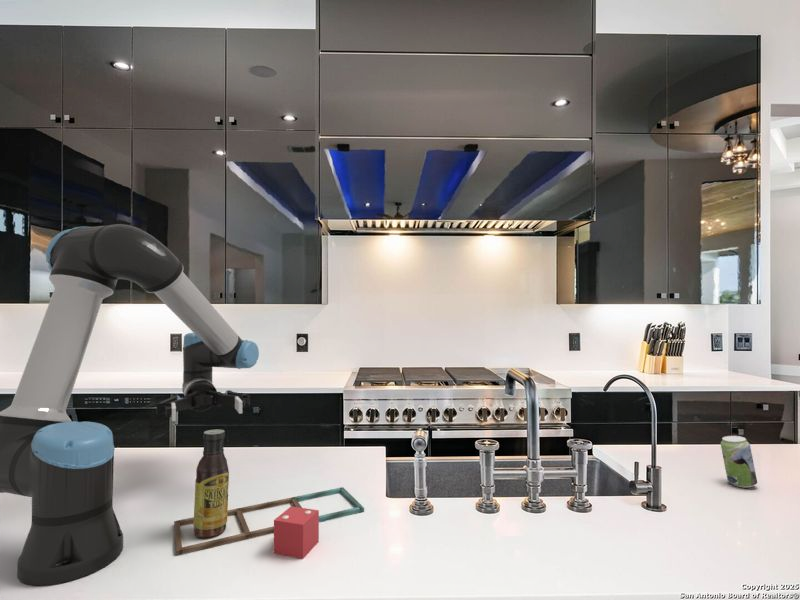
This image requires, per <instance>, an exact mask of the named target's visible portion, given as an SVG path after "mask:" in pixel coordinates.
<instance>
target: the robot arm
mask: <svg viewBox="0 0 800 600" xmlns="http://www.w3.org/2000/svg"><path fill="white" fill-rule="evenodd" d="M45 260H46V263H48V268H49V270H50V274H49V276H48V279H49V281H50V283H51V284H52V286H53V287H54V289H53V291H52V295H51V298H50V300H49V302H48V305H47V308H46V311H45V312H44V317H43V319H42V322H41V324H40V327H39V330H38V332H37V335H36V337H35V340H34V342H33V345H32V349H31V351H30V354H29V356H28V359H27V362H26V365H25V367H24V371H23V372H22V375H21V378H20V381H19V383H18V385H17V389H16V392H15V394H14V397H13V399H12V402H11V405H9V406H8V407H7V408H5V409H3V410H1V411H0V493H2V494H3V493H6V494H13V495H17V496H23V497H28V498H31V525H30V528H29V531H28V534H27V537H26V538H25V542H24V545H23V548H22V551H21V554H20V556H19V557H18V560H17V567H16V568H17V570H16V571H17V572H16V576H17V579H18V580H19V582H21V583H23V584H26V585H31V586H50V585H55V584H61V583H66V582H69V581H73V580H77V579H79V578H82V577H85V576H88V575H90V574H93V573H95V572H97V571H99V570H101V569H102V568H105V567H106V566H108V565H110V564H111V563H112V562H114V561H115V560H116V559H117V558H119V557H120V555H121V553H122V552H123V549H124V533H123V531H122V528H121V526H120V522H119V520H118V518H117V515H116V513H115V511H114V510H115V509H114V508H113V504H114V503H113V496H114V495H113V494H114V492H113V491H114V490H113V489H114V465H115V464H114V463H115V460H114V459H115V445H114V435H113V431H112V430H111V429H110V428H109V427H108V426H106V425H104V424H103V423H98V422H95V421H93V422H92V421H72V419H71V418H70V417H69V415H68V414H67V408H68V406H69V405H68V404H69V402H70V399H71V397H72V396H71V395H72V394H73V390H74V387H75V384H76V381H77V378H78V374H79V372H80V370H81V369H80V368H81V366H82V363H83V359H84V356H85V353H86V351H87V350H86V349H87V347H88V345H89V342H90V339H91V335H92V332H93V329H94V326H95V323H96V319H97V317H98V315H99V311H100V309H101V304H102V302H103V301H104V299H106V298H108V297H110V296H112V295H113V294H114V292H115V289H116V286H117V282H118V280H125V281H130V282H133V283H134V284H137V285H138V286H140V288H142V290H144V291H145V292H146V293H149V294H154V295H155V296H157V298H158V299H159V300H160V301H161V302H162V303H163V304H164V305H165V306H166V307H167V308H169V310H170V311H172V313H173V314H174V315H175V316H176V317H178V319H179V320H181V322H182V323H184V325H185V326H186V327H188V329H189V330H190V331H191V332H189V333H185V334H184V336H183V344H182V353H183V354H182V355H183V357H182V359H183V361H182V362H183V363H182V365H183V372H182V374H183V375H182V381H183V382H182V393H183V395H184V397H180V395H177V394H174V395H171V397H169V398H167V399H164V400H162V401H160V402H157V403H156V415H157V416H160V415H163V414H165V418H166V419H168V418H169V419H170V418H171V422H177V413H178V412H181V411H184V410H192V411H196V412H205V411H207V410H209V409H211V408H212V407H217V408H218V407H221V406H226V407H228V406H229V407H234V409H235V411H236V412H237V413H238V414H241V415H242V414H243V408H246V407H248V406H250V405H251V402H250V401H251V398H250V397H251V395H250V394H248V393H247V394H246V393H244V392H237V391H232V390H226V391H225V392H224V393H222V392H221V391H217V388H216V386H215V385H214V384H213V368H226V369H227V368H228V369H237V370H241V369H251V368H253V367H254V366H255V365H256V364H257V362H258V360H259V356H260V355H259V354H260V351H259V347H258V344H257V343H256V342H254V341H252V340H248V339H245V340H243V339H242V338H241V337H240V336H239V335H238V334H237V332H236V331H235V330H234V329H233V328H232V327H231V325H230V324H229V323H228V322H227V321H226V320H225V318H223V316H222V315H221V314H220V313H219V312H218V310H217V309H216V308H215V307H214V306H213V305H212V303H210V301H209V300H208V299H207V298H206V297H205V295H204V294H203V293H202V292H201V291H200V290H199V289H198V287H197V286H196V285H195V283H193V282H192V281H191V279H190V278H189V277H188V275H186V274H185V272H184V265H183V263H182V262H181V261H180V259H179V258H177V256H176V255H175V254H174V253H173V252H172V251H171V250H170V249H169V248H168V247H167V246H165V245H164V243H163V242H161V241H159V239H157V238H156V237H154V236H153V235H152V234H149V233H148V232H147V231H145V230H143V229H141V228H138V227H136V226H133V225H130V224H124V223H123V224H122V223H120V224H118V223H116V224H110V225H109V224H108V225H98V226H86V225H85V226H83V225H82V226H76V227H73V228H69V229H65V230H63V231H60V232H59V233H57V234H56V235H54V237H53V238H52V239H51V240H50V241H49V243H48V245H47V247H46V251H45Z"/></svg>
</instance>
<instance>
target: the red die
mask: <svg viewBox="0 0 800 600" xmlns="http://www.w3.org/2000/svg"><path fill="white" fill-rule="evenodd" d="M319 512H320V511H319V509H313V508H306V507H302V508H300V507H294V506H293V505H291V506H289V507H288V508H287V509H285V511H283V512H282V513H281V514H279V515H278V516H277V517H276V518H275V519H273V526H274V533H273V554H274V555H275V554H276V555H280V556H284V557H291V558H298V559H304V558H305V557H307V555H308V554H309V553H310V552H311V551H312V550H313V549H314V548H315V546H317V544H318V543H319V541H320V539H319V537H320V536H319V535H320V529H319V528H320V527H319V526H320V525H319V524H320V522H319V516H320V515H319V514H320V513H319Z"/></svg>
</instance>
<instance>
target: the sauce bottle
mask: <svg viewBox="0 0 800 600" xmlns="http://www.w3.org/2000/svg"><path fill="white" fill-rule="evenodd" d="M225 437H226V431H225V430H224V429H209V430H204V431H203V433H202V439H203V450H202V454H203V455H202V457H201V458H200V460H198V464H197V466H196V472H195V473H196V474H195V476H196V478H195V484H194V485H195V488H194V506H193V508H194V509H193V517H194V523H193V527H194V528H193V533H194V536H196V537H198V538H201V539H202V538H203V539H206V538H212V537H213V538H214V537H217V536H219V535H221V534H222V533H223V532H225V531H226V530H227V529H226V528H227V523H228V516H227V513H228V509H229V506H228V505H229V482H230V481H229V479H230V470H229V467H228V466H229V465H228V460H227V458H226V456H225V452H224V451H225V449H224V441H225V440H224V439H225Z"/></svg>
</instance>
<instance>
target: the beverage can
mask: <svg viewBox="0 0 800 600" xmlns="http://www.w3.org/2000/svg"><path fill="white" fill-rule="evenodd" d="M721 439H722V440H721V441H720V449H721V454H722V457H723V463H724V468H725V474H726V478H727V482H728V483H729V484H731V485H733V486H734V487H739V488H742V489H743V488H753V487H754V486H755V485H757V484H758V479H757V473H756V468H755V464H754V458H753V453H752V446H751V444H750V442H749V441H748V440H747V438H746V437H744V436H742V435H741V436H740V435H726V436H723V437H722V438H721Z"/></svg>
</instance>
